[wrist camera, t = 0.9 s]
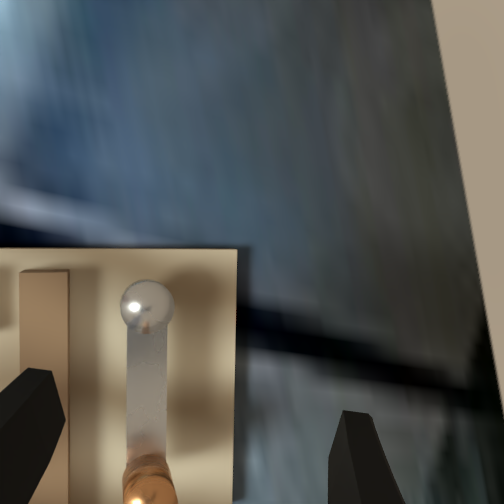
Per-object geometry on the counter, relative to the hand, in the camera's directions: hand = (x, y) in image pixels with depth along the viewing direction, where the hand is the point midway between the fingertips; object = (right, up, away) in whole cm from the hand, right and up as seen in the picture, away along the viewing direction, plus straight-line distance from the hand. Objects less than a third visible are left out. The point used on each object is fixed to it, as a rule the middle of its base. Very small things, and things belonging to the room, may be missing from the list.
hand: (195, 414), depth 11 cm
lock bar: (-4, -2, +10) cm, 11 cm away
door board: (-8, -3, +12) cm, 15 cm away
